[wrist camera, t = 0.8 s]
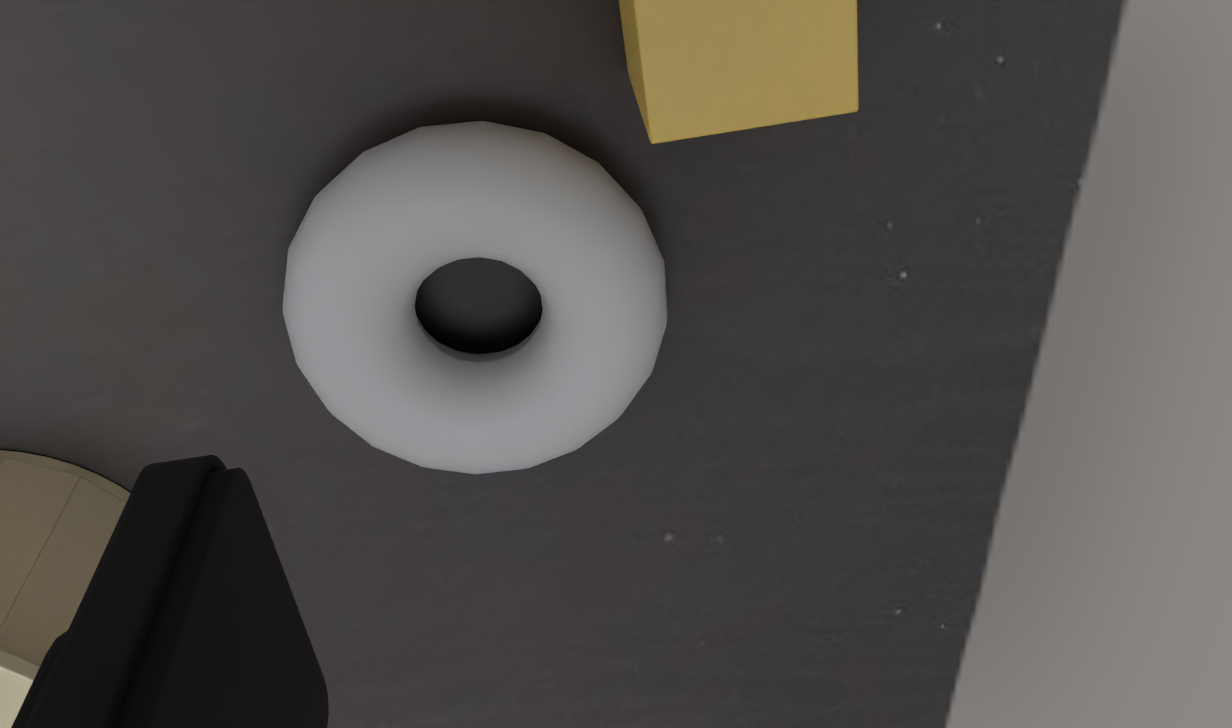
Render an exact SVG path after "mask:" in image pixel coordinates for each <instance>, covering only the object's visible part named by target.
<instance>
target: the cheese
mask: <svg viewBox="0 0 1232 728" xmlns="http://www.w3.org/2000/svg"><path fill="white" fill-rule="evenodd" d="M619 7H620V15H621V22H622V30H623V38H624V46H625V54H626V62H627V69H628V74H629V78H630V81H631V84H632V87H633V90H634V93H635V96H636V99H637V102H638V105H639V109H640V112H641V115H642V118H643V121H644V124H645V127H646V130H647V133H648V136H649V140H650V142H651V143H652V144H656V143H662V142H668V141H675V140H681V139H687V138H694V137H700V136H706V135H712V134H719V133H725V132H731V131H738V130H744V129H750V128H757V127H763V126H769V125H776V124H782V123H788V122H795V121H801V120H807V119H814V118H820V117H826V116H833V115H839V114H845V113H852V112H856V111H858V108H859V105H858V34H857V0H619Z"/></svg>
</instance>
